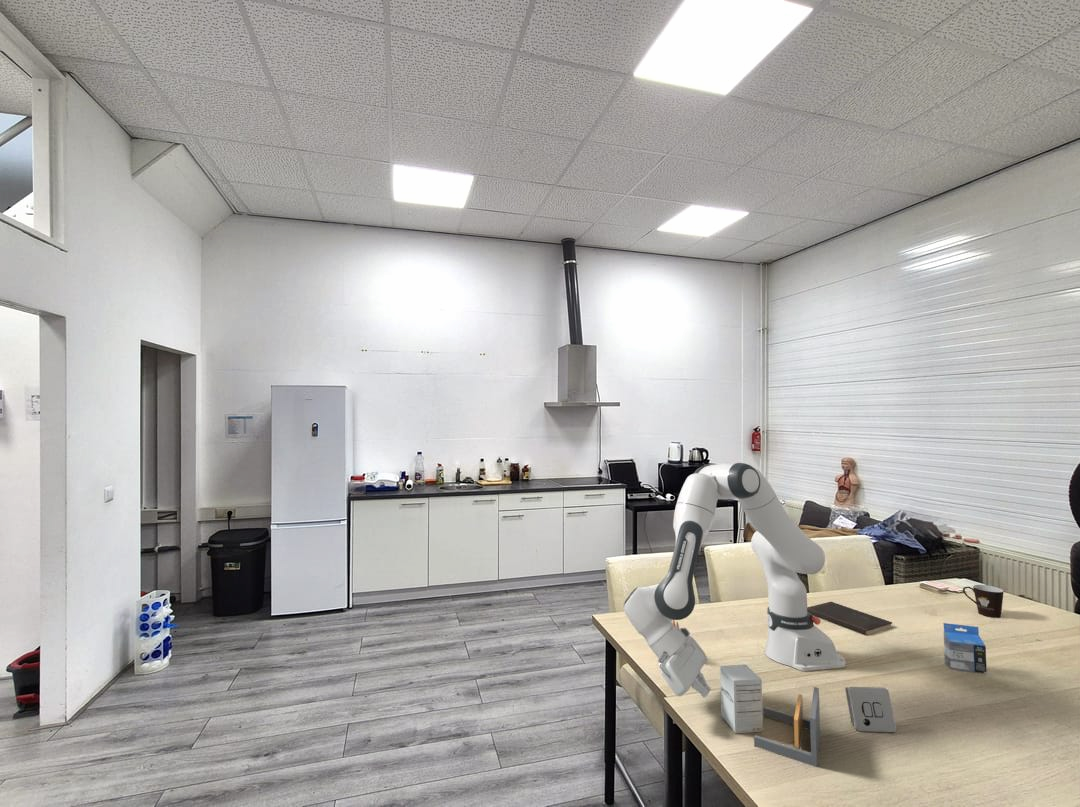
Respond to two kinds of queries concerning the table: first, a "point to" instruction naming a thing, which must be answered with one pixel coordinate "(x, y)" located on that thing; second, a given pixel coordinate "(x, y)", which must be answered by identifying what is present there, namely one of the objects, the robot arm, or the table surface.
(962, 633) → the ink cartridge box
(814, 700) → the holder
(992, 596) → the coffee mug
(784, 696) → the table surface
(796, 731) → the orange flat slab
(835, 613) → the hardcover book
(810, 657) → the robot arm
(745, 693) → the supplement box
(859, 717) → the electrical switch
